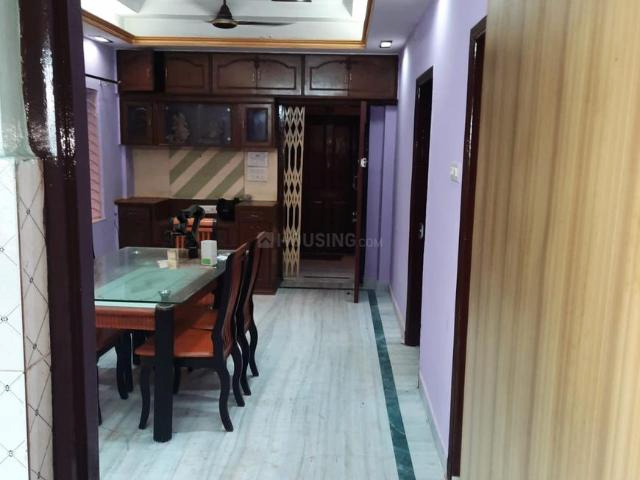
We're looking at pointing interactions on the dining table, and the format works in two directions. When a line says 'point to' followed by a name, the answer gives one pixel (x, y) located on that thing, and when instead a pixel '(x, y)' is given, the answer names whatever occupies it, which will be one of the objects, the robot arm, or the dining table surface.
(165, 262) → the off-white base block
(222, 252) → the dining table surface
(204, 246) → the skincare box
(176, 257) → the maple pillar block
